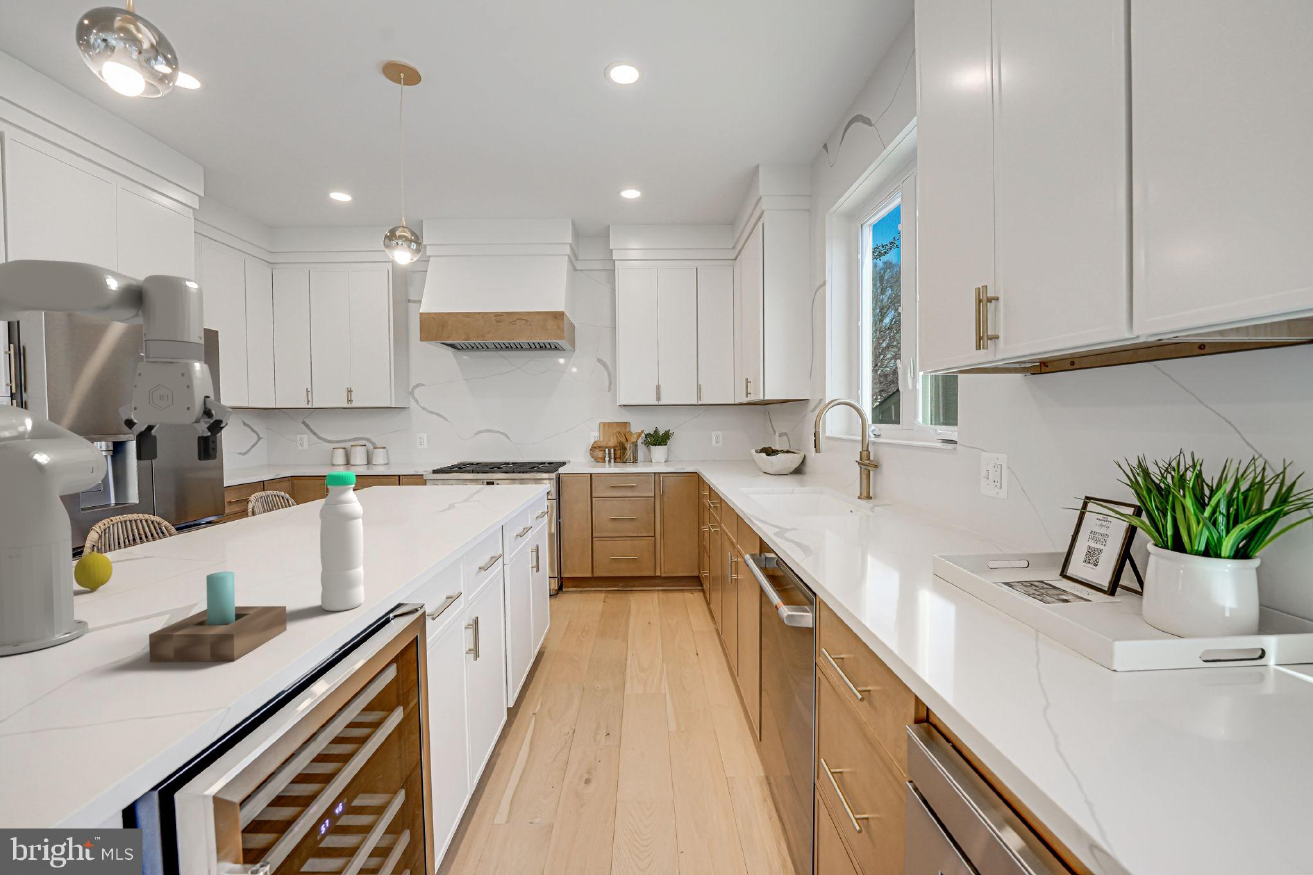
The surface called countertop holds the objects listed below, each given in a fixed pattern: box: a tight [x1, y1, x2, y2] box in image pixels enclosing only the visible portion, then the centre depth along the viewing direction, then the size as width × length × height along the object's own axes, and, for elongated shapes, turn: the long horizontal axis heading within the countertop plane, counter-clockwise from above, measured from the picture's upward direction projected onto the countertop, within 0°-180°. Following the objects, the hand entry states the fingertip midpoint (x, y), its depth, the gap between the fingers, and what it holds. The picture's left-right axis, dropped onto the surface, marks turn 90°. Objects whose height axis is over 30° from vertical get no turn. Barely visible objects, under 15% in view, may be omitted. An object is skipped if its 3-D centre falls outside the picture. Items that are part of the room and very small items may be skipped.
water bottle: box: [319, 471, 365, 612], centre depth 106 cm, size 7×7×25 cm
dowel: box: [205, 571, 236, 625], centre depth 88 cm, size 3×3×11 cm
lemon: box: [73, 551, 113, 592], centre depth 115 cm, size 6×6×8 cm
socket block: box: [148, 605, 287, 663], centre depth 88 cm, size 12×12×4 cm
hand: (177, 460), depth 93 cm, fingers open, 9 cm apart
